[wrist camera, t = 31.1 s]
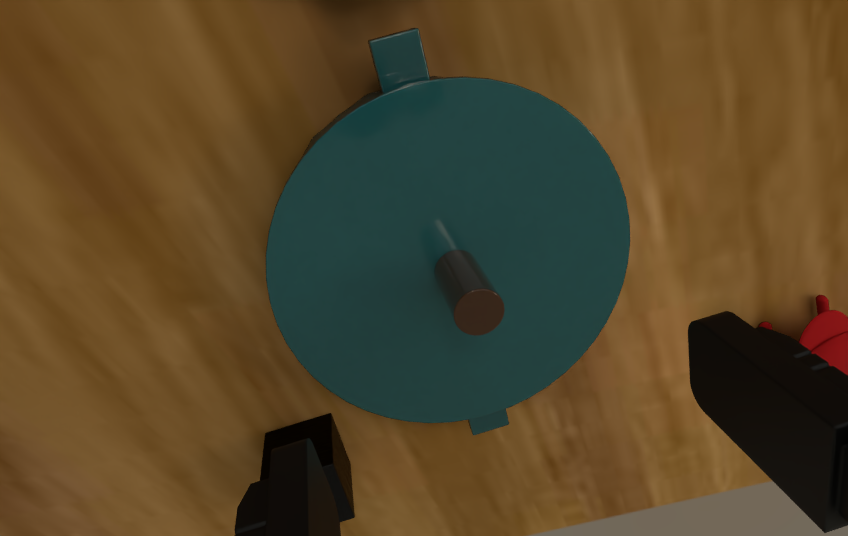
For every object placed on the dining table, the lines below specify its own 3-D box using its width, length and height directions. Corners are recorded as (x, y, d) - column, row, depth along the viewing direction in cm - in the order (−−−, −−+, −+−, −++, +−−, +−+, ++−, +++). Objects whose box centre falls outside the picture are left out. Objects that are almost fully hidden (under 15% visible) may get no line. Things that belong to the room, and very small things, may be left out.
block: (287, 482, 42) (284, 540, 37) (264, 432, 40) (258, 487, 35) (350, 463, 42) (355, 518, 37) (330, 412, 40) (333, 463, 35)
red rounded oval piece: (846, 323, 44) (920, 367, 39) (784, 380, 46) (848, 430, 40) (789, 262, 42) (861, 300, 36) (724, 325, 43) (785, 371, 37)
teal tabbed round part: (346, 436, 41) (349, 482, 37) (210, 79, 31) (195, 89, 27) (604, 357, 42) (635, 393, 38) (554, -14, 32) (588, -18, 28)
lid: (332, 451, 37) (335, 530, 31) (207, 138, 28) (181, 168, 23) (636, 357, 38) (692, 416, 32) (599, 28, 30) (665, 32, 24)
